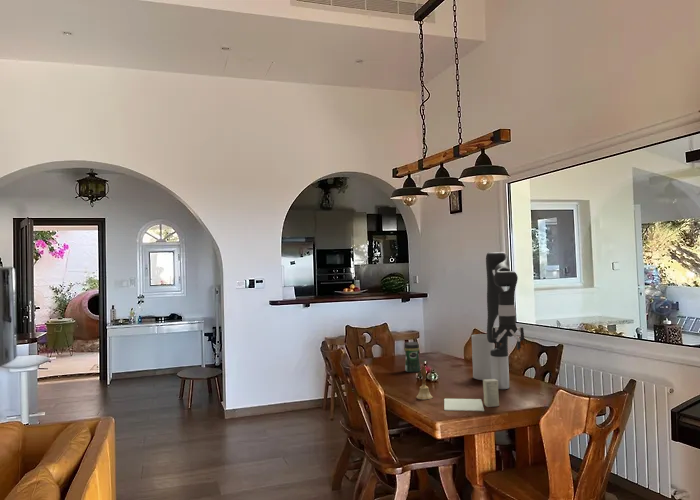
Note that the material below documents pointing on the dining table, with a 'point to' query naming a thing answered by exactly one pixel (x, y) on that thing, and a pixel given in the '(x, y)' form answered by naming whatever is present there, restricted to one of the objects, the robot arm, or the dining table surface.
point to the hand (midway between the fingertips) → (508, 349)
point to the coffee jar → (412, 357)
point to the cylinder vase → (481, 356)
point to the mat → (463, 405)
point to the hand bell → (424, 387)
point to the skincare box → (490, 392)
